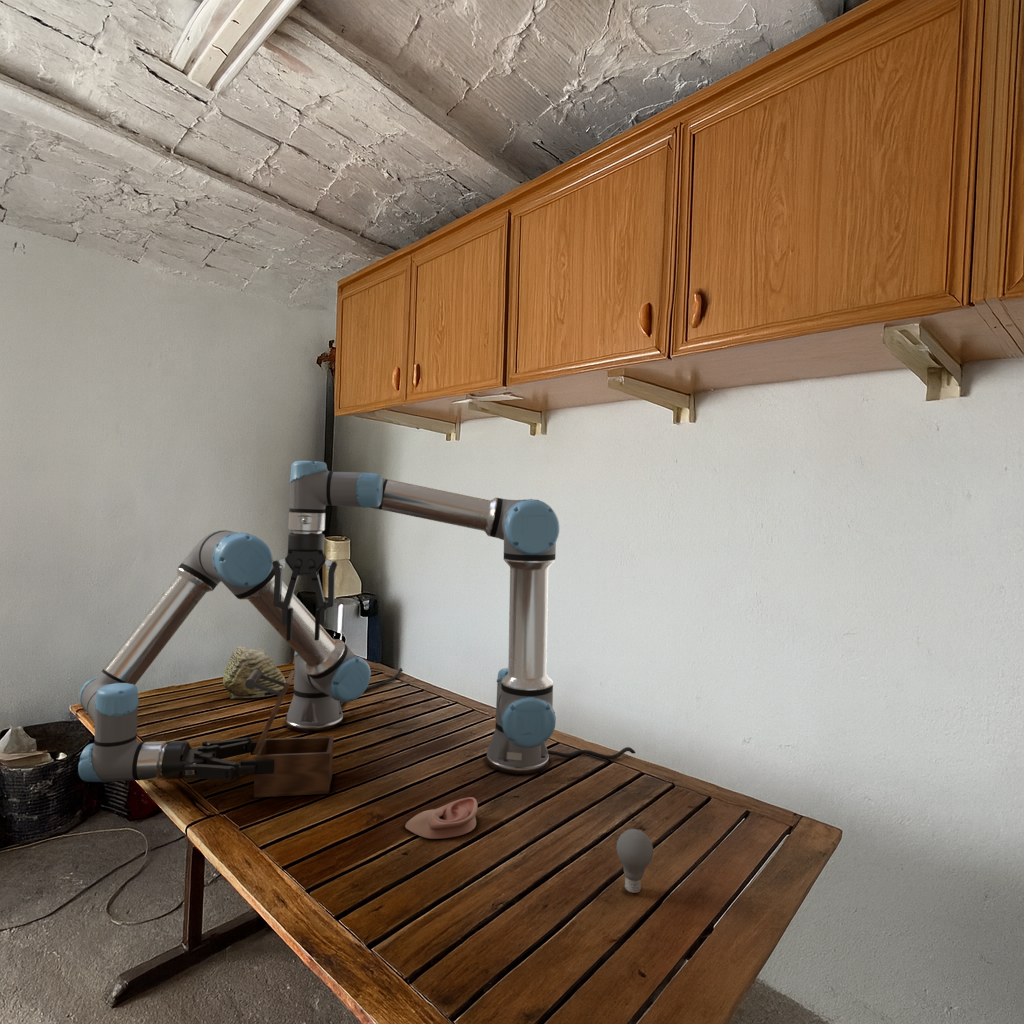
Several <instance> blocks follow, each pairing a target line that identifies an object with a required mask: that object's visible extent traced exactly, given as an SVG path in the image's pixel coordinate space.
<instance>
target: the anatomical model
mask: <svg viewBox="0 0 1024 1024" xmlns="http://www.w3.org/2000/svg"><path fill="white" fill-rule="evenodd" d="M478 805H479V804H478V801H477V799H476V798H475V797H471V796H469V797H464V798H460V799H457V800H454V801H452V802H449V803H446V804H444V805H442V806H440V807H437V808H435V809H427V810H424V811H421V812H419V813H417V814H416V815H413V816H412V817H411V818H410V819H409V820H408V821H407V822H406V823H405V825H404V827H405V829H406V830H408V831H409V832H411V833H413V834H415V835H416V836H418V837H422V838H424V839H427V840H428V839H430V840H437V839H438V840H439V839H449V838H455V837H459V836H463V835H466V834H468V833H470V832H472V831H473V830H474V829H475V828H476V826H477V818H476V815H477V813H478V807H479V806H478Z"/></svg>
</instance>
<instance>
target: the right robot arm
mask: <svg viewBox="0 0 1024 1024" xmlns="http://www.w3.org/2000/svg"><path fill="white" fill-rule="evenodd" d="M290 466H291V467H290V476H289V477H290V478H289V482H288V483H289V509H288V510H289V511H288V530H289V531H290V532H289V534H287V553H286V555H285V557H284V558H281V559H275V560H274V562H273V563H272V565H273V568H274V571H275V581H274V601H273V605H274V606H275V607H279V608H281V609H282V623H283V624H287V641H290V640H291V639H292V624H293V608H289V606H290V603H291V599H292V596H293V594H295V593H294V592H295V590H296V586H297V583H298V580H299V577H301V576H308V577H311V580H312V584H313V588H314V592H315V597H316V600H317V605H318V607H317V608H316V609H315V613H314V614H315V616H314V618H315V640H319V637H320V625H324V624H325V622H326V610H327V609H329V608H332V607H334V605H335V597H336V595H335V593H336V592H335V590H336V589H335V588H336V587H335V586H336V583H335V582H336V569H337V567H338V564H339V563H338V561H337V560H331V559H328V558H327V556H326V554H325V534H324V533H323V532H324V531H325V530H326V508H327V507H326V506H329V507H335V506H336V507H350V508H364V509H366V508H367V509H368V508H370V509H375V510H380V511H384V512H385V511H386V512H391V513H395V514H399V515H405V516H410V517H414V518H418V519H419V518H420V519H423V520H429V521H434V522H439V523H443V524H447V525H452V526H458V527H463V528H468V529H472V530H477V531H483V532H484V533H485V534H486V535H487V537H492V538H495V539H499V540H502V541H503V561H504V562H505V563H506V564H507V565H508V566H509V605H508V607H509V609H508V610H509V613H508V614H509V615H508V616H509V617H508V666H507V667H503V668H501V669H499V670H498V672H497V679H496V702H495V703H496V707H495V726H494V727H495V728H494V732H493V735H492V738H491V740H490V743H489V744H488V745H489V746H488V748H487V751H486V764H487V765H488V766H489V767H490V768H492V769H494V770H495V771H498V772H500V773H505V774H510V775H529V774H530V775H531V774H536V773H540V772H542V771H544V770H546V769H547V767H548V766H549V759H550V757H549V756H556V757H561V758H573V757H575V756H579V755H590V756H593V757H597V758H599V759H603V760H614V759H618V758H619V757H621V756H622V755H624V754H625V753H627V752H629V753H631V754H636V751H635V749H633V748H631V747H629V746H626V747H623V748H622V749H621V750H619V751H618V752H616V753H614V754H611V755H610V754H603V753H599V752H597V751H593V750H589V749H578V750H577V749H576V750H574V751H572V752H567V753H565V752H561V751H556V750H549V749H548V748H547V744H546V742H547V741H548V740H549V739H550V738H551V737H552V735H553V734H554V731H555V729H556V722H557V716H556V712H555V709H554V681H553V679H552V678H551V677H550V676H549V675H548V673H547V669H548V668H547V667H548V666H547V665H548V664H547V663H548V662H547V660H548V615H549V614H548V613H549V611H548V608H549V569H550V567H551V566H552V565H553V564H554V563H555V562H556V553H557V551H556V550H557V541H558V538H559V535H560V530H561V529H560V521H559V518H558V516H557V513H556V512H555V510H554V509H553V508H552V507H551V506H550V505H549V504H547V503H546V502H544V501H543V500H539V499H534V498H529V499H527V498H526V499H507V498H500V497H494V498H493V499H491V500H490V499H486V498H480V497H477V496H476V497H475V496H471V495H466V494H462V493H461V494H460V493H457V492H452V491H448V490H447V491H446V490H442V489H437V488H433V487H427V486H423V485H418V484H413V483H409V482H402V481H398V480H393V479H389V478H388V479H387V478H383V477H382V476H381V474H379V473H374V472H368V471H364V472H360V471H359V472H357V471H356V472H355V471H333V470H332V471H331V470H328V465H327V463H326V462H324V461H317V460H315V461H314V460H313V461H312V460H295V461H294V462H292V463H291V465H290ZM285 565H287V566H288V567H289V569H290V570H291V571H292V572H291V575H290V580H289V583H288V586H287V587H288V589H287V592H286V596H285V599H284V602H283V601H281V594H282V581H283V574H284V573H283V569H284V568H285V567H286V566H285ZM324 565H325V567H326V570H328V574H327V601H326V599H325V596H324V592H323V587H322V583H321V579H320V574H319V571H320V569H321V568H322V567H323V566H324ZM287 641H286V642H287Z"/></svg>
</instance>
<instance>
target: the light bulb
mask: <svg viewBox="0 0 1024 1024" xmlns="http://www.w3.org/2000/svg"><path fill="white" fill-rule="evenodd" d="M615 849H616V854H617V857H618V859H619V861H620V863H621V865H622V867H623V873H624V874H623V875H624V876H625V878H624V888H625V890H627V891H628V892H630V893H634V894H635V893H639V892H640V891H641V889H642V887H641V886H642V879H643V877H644V875H645V871H646V868H647V867H648V866H649V864H650V863H651V861H652V859H653V855H654V847H653V843H652V841H651V838H649V836H648V835H647V834H646V833H645V832H643V831H642V830H641V829H636V828H629V829H627V830H625V831H623V832H622V833H621V834H620V835H619V837H618V839H617V841H616V847H615Z"/></svg>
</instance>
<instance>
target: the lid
mask: <svg viewBox="0 0 1024 1024" xmlns="http://www.w3.org/2000/svg"><path fill="white" fill-rule="evenodd" d="M295 672H296V671H294V670H293V669H291V672H290V673H289V676H288V677H287V679H286V683H284V682H282V681H279V680H276V679H274V678H271V677H268V676H266V675H263V674H262V671H261V670H259V669H256V670H254V671H253V673H252V674H251V675H250V677H249V678H248V679H247V681H246V682H245V686H246V687H247V688H248V689H252V688H254V687H256V688H259V689H261V690H264V691H267V692H269V693H272V694H275V695H276V696H278V698H277V700H276V702H275V705H274V707H273V708H272V711H271V712H270V715H269V717H268V720H267V722H266V724H265V726H264V728H263V730H262V733H261V734H260V737H259V739H258V740H257V741H258V743H257V746H256V748H255V750H254V752H253V753H254V754H257V753H258V751H259V749H260V747H261V745H262V743H263V741H264V739H266V737H267V735H268V733H269V731H270V729H271V727H272V724H273V722H274V720H275V718H276V716H277V713H278V711H279V709H280V707H281V705H282V703H283V700H284V699H285V696H286V694H287V691H288V689H289V688H290V686H291V683H292V681H293V680H294V674H295ZM260 678H262V679H265V680H267V681H270V682H273V683H275V684H278V685H281V686H283V689H282V691H281V692H279V691H276V690H274V689H271V688H268V687H266V686H263V685H260V684H257V682H258V681H259V679H260ZM275 695H274V696H275Z"/></svg>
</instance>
